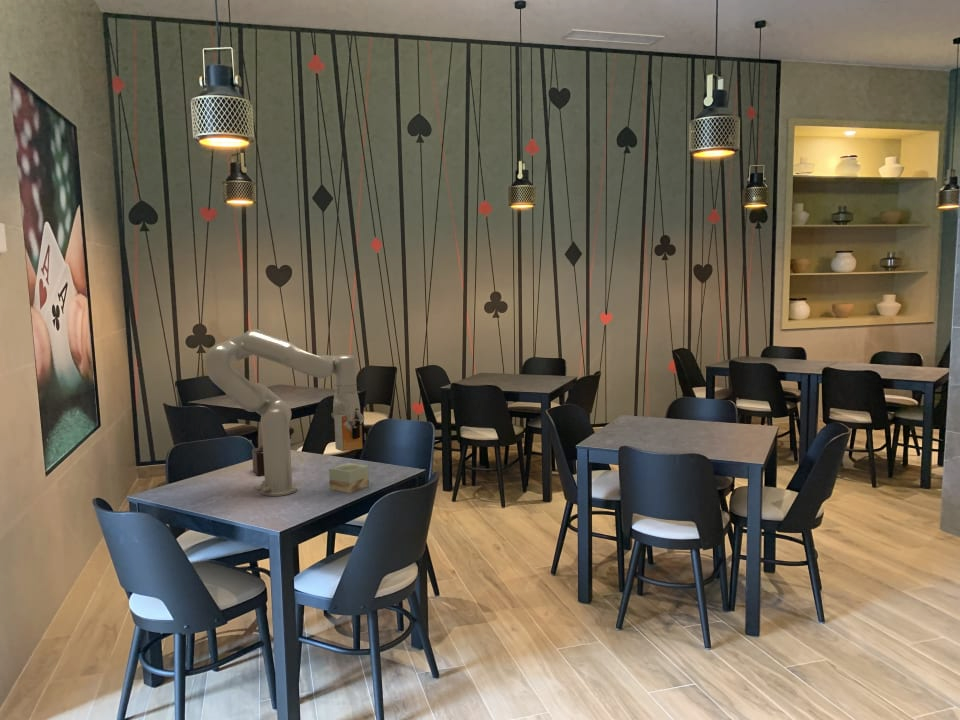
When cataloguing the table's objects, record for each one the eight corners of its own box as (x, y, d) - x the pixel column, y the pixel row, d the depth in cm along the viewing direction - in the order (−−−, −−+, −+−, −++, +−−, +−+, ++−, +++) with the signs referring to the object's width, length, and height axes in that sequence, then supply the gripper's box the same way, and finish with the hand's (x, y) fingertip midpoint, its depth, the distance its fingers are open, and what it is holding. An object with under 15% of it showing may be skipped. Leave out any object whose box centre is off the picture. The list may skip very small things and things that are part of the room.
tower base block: (349, 494, 263) (348, 483, 263) (330, 489, 269) (329, 479, 269) (369, 487, 271) (368, 476, 271) (350, 483, 277) (349, 473, 277)
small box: (342, 452, 264) (341, 416, 262) (335, 449, 269) (333, 413, 267) (363, 448, 268) (361, 413, 267) (355, 445, 273) (353, 411, 272)
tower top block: (350, 483, 263) (349, 472, 262) (329, 479, 268) (329, 468, 268) (368, 476, 271) (368, 466, 270) (348, 473, 276) (348, 462, 276)
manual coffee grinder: (258, 477, 288) (255, 431, 286) (252, 471, 298) (249, 427, 296) (297, 471, 295) (295, 427, 293) (290, 465, 305) (288, 423, 303)
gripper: (322, 389, 268) (324, 436, 270) (355, 392, 258) (357, 441, 260) (337, 386, 274) (339, 433, 276) (370, 389, 264) (372, 437, 266)
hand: (348, 436), depth 268 cm, fingers closed on small box, 7 cm apart
